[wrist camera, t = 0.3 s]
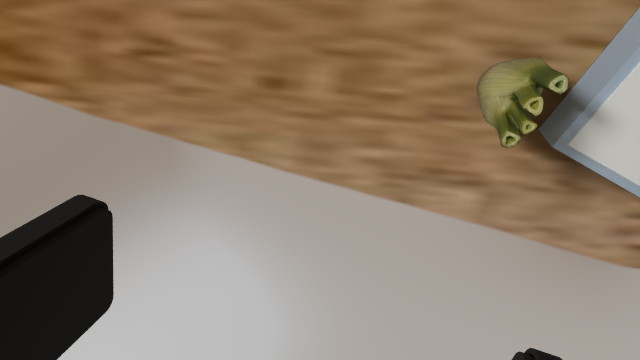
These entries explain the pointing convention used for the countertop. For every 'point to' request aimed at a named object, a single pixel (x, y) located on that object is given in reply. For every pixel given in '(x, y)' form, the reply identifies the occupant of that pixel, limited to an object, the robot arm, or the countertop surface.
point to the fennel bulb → (516, 95)
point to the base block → (604, 113)
